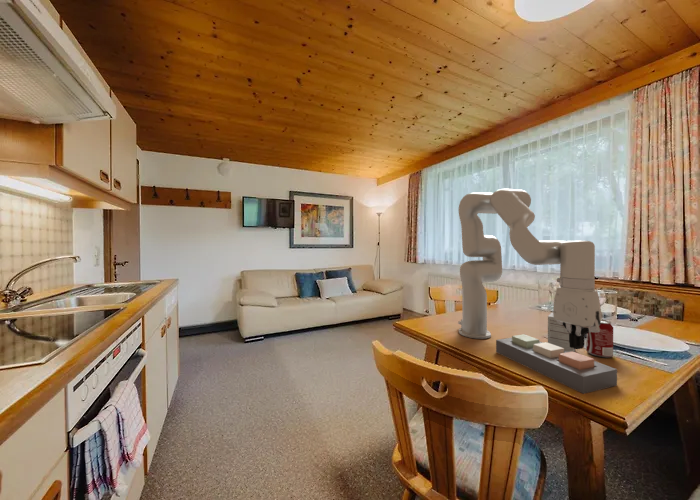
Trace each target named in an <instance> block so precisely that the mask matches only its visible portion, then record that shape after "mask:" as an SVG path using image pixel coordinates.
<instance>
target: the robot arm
mask: <svg viewBox="0 0 700 500" xmlns="http://www.w3.org/2000/svg"><path fill="white" fill-rule="evenodd" d="M531 204H532V198H531V195H530V194H529V193H528V192H527V191H526V190H523V189H518V188H517V189H513V188H501V189H497V190H496V191H494V192H482V191H481V192H478V191H477V192H470V193H467V194H465V195H464V196H463V197H462V198H461V200H460V201H459V204H458V217H459V221H460V226H461V244H462V246H461V247H462V252H463V255H465V256H466V257H468V258H482V260H481V259H479V260H478V259H477V260H476V259H475V260H469V261H468V260H467V261H465V262H464V263H462V264H461V265H460V268H459V276H460V281H461V291H462V293H461V294H462V303H461V304H462V306H461V307H462V308H461V309H462V310H461V311H462V317H461V318H462V319H460V320H459V321H458V323H457V324H458V325H460V326H461V327H460V328H459V329H458V333H459V335H461V336H463V337H466V338H470V339H476V340H484V339H489V338H491V337H492V333H491V332H490V330H488V327H487V326H488V295H487V289H486V288H485V285H484V284H483V283H492V282H493V283H494V282H496V281H499V280H500V278H502V275H503V260H502V259H503V258H502V257H503V256H502V247H501V243H500V240H499V239H498V238H497V237H496V236H494V235H491V234H490V235H489V234H484V225H483V224H484V223H483V221H482V219H481V218H480V217H479V215H478V214H488V215H489V214H492V215H493V214H494V215H495V214H497V215H498V216H499V217H500V218H501V220H502V221H503V222H504V223H505V225H507V227H508V228H509V232H508V233H509V240H510V245H511V246H512V247H513V249H514V251H516V253H517V254H518V255H519V257H520V258H521V259H522V260H524V261H525V262H527V263H528V264H530V265H534V266H544V265H545V266H546V265H560V267H559V268H560V269H559V271H560V272H559V273H560V275H559V277H558V278H557V279H556V282H557V283H559V285H560V286H557V287H556V289H555V293H554V294H555V295H554V298H553V299H554V301H553V310H552V313H553V316H554V318H555V319H556V322H558V323H560V324H562V325H563V326H564V327H565V328H566V329H567V332H568V333H569V343H570V347H571V348H574V349H575V350H581V349H584V347H585V336H587V333H589V332H595V333H596V332H600V328H599V325H600V324H601V319H602V309H601V302H600V301H601V300H600V296H599V293H598V290H596V287H595V285H596V282H595V281H596V280H595V276H596V275H595V273H596V271H595V269H596V262H595V261H596V259H595V258H596V257H595V256H596V246H595V243H594V242H593V241H590V240H567V241H566V240H550V239H547V240H546V239H545V240H539V239H537V238H536V236H534V234H532V232H531V231H530V230H529V228H528V227H529V226H530V225H532V223H534V220H535V218H536V215H535V213H534V212H533V211H532V209H531V208H530V206H531Z"/></svg>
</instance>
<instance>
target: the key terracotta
mask: <svg viewBox="0 0 700 500" xmlns="http://www.w3.org/2000/svg"><path fill="white" fill-rule="evenodd" d="M594 361H595V358H592V357H590V356H586V355H583V354H582V353H578V352H576V351H575V352H573V351H572V352H567V353H561V354H559V362H562V363H564V364H567V365H569V366H572V367H574V368H577V369H579V370H584V369H588V368H593V367H594Z"/></svg>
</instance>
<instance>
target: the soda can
mask: <svg viewBox="0 0 700 500" xmlns="http://www.w3.org/2000/svg"><path fill="white" fill-rule="evenodd" d="M599 328H600V332H596V333H595V332H589V333H587V335H586V350H585V351H586V352H587V353H589V354H590V355H591V356H594V357H597V358H603V359H609V358H612V357H613V356H614V326H613V325H612V322H611V321H610V320H607V319H602V318H601V324H600V325H599Z"/></svg>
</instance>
